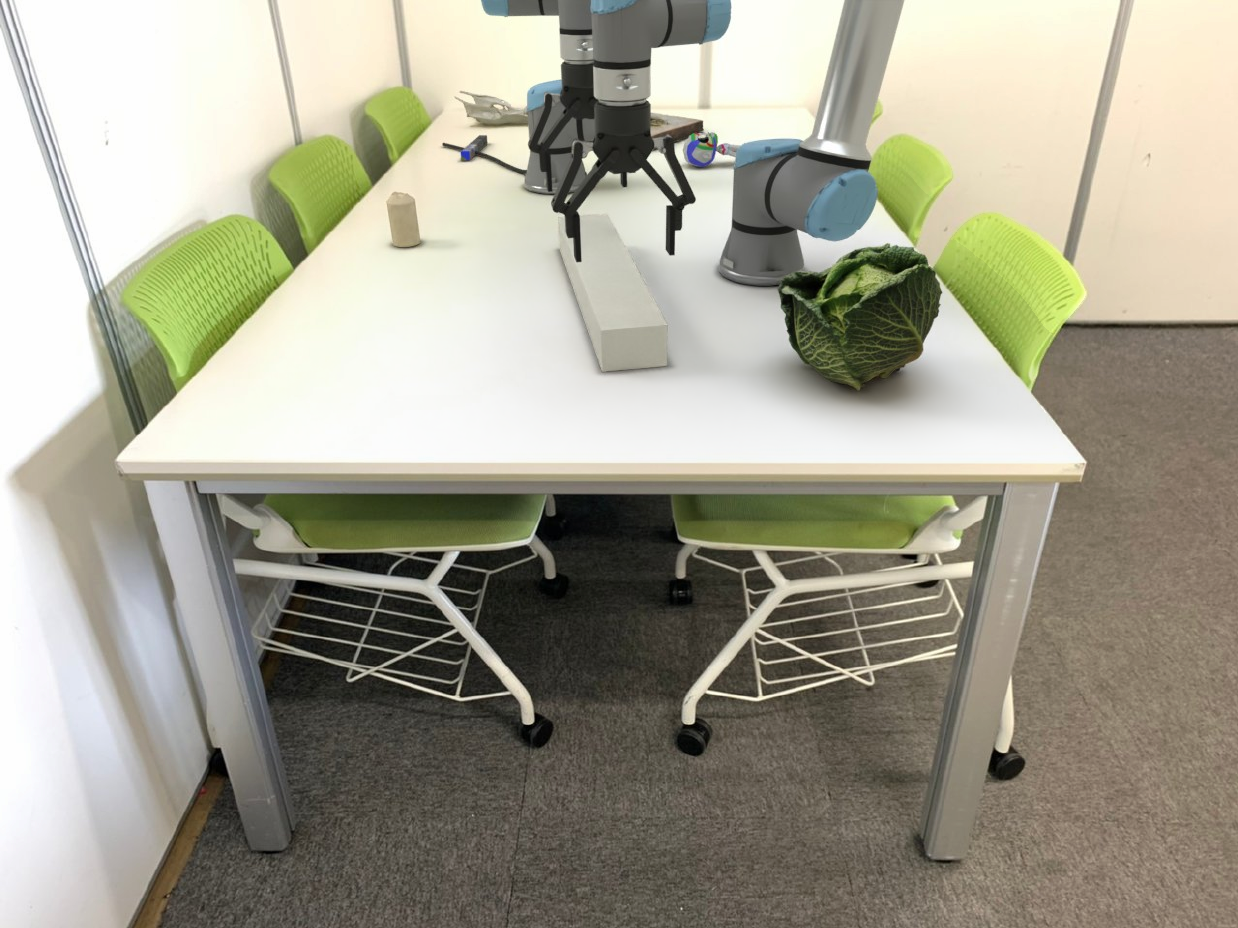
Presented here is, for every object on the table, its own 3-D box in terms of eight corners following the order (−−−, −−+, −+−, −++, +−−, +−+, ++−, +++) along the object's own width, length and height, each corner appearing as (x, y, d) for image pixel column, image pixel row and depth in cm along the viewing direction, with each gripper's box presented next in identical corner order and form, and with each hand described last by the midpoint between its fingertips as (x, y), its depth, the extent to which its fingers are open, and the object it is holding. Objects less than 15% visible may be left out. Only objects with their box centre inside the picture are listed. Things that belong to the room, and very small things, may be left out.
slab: (559, 249, 176) (557, 216, 173) (608, 246, 177) (607, 213, 174) (602, 372, 130) (600, 330, 127) (667, 366, 132) (667, 324, 128)
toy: (807, 147, 224) (690, 133, 219) (799, 181, 228) (684, 168, 224) (796, 138, 233) (684, 124, 228) (789, 171, 237) (678, 158, 232)
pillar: (486, 135, 252) (468, 152, 235) (487, 143, 253) (468, 161, 236) (479, 135, 252) (460, 152, 236) (480, 143, 253) (461, 160, 237)
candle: (425, 240, 182) (419, 190, 176) (411, 248, 177) (404, 198, 172) (401, 237, 183) (394, 188, 178) (387, 246, 179) (379, 195, 174)
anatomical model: (463, 88, 279) (541, 86, 276) (467, 119, 284) (543, 118, 281) (448, 97, 267) (529, 96, 263) (453, 130, 272) (532, 129, 268)
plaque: (647, 125, 237) (559, 112, 252) (647, 153, 241) (560, 139, 256) (706, 107, 258) (622, 97, 273) (705, 133, 262) (622, 121, 277)
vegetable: (807, 399, 136) (749, 288, 129) (909, 328, 138) (857, 214, 130) (877, 433, 118) (813, 305, 110) (993, 351, 119) (938, 219, 112)
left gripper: (510, 67, 147) (519, 197, 158) (659, 61, 150) (658, 189, 161) (507, 60, 153) (516, 186, 164) (650, 55, 156) (650, 178, 168)
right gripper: (530, 110, 114) (540, 271, 125) (721, 101, 117) (714, 258, 128) (525, 99, 120) (536, 253, 131) (706, 91, 123) (701, 241, 135)
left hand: (586, 188), depth 163 cm, fingers open, 13 cm apart
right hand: (624, 256), depth 130 cm, fingers open, 13 cm apart
